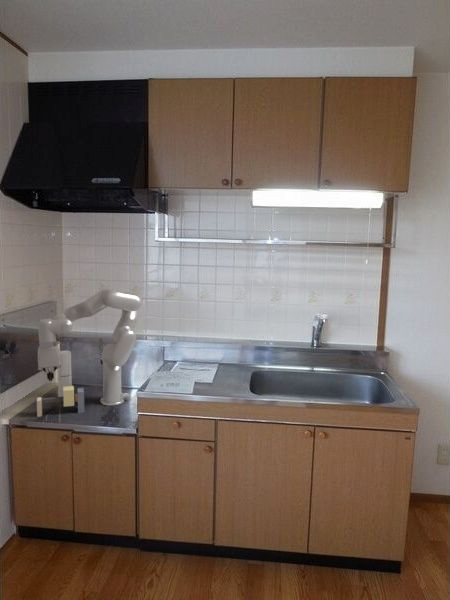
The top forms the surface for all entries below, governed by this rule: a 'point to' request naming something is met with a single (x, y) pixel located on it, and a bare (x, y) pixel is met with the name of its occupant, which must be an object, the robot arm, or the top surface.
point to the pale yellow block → (68, 395)
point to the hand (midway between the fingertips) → (50, 380)
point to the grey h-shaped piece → (78, 398)
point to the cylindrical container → (64, 372)
